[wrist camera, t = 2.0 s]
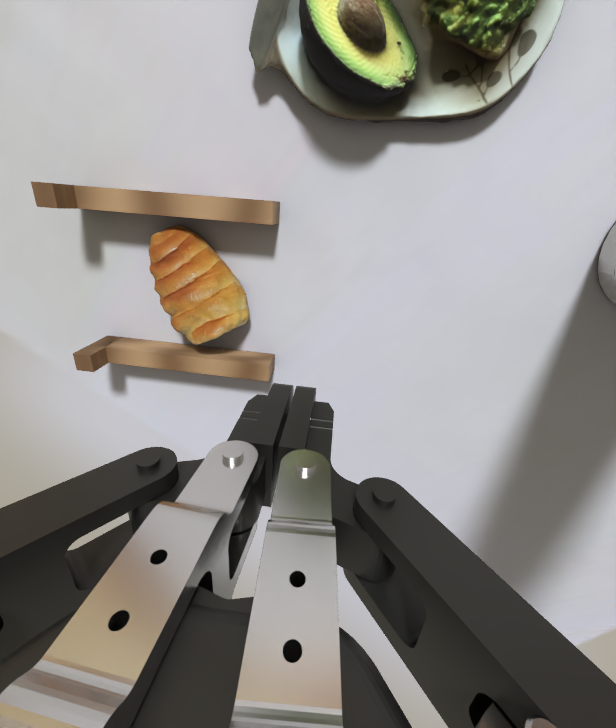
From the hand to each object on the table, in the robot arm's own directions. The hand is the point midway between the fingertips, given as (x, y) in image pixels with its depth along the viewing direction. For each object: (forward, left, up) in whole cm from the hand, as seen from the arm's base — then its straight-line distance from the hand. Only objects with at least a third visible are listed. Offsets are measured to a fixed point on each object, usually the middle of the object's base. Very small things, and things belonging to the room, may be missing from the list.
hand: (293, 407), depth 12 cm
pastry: (+10, 0, -18) cm, 20 cm away
